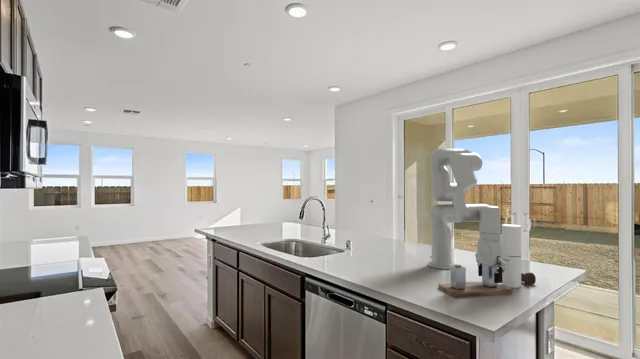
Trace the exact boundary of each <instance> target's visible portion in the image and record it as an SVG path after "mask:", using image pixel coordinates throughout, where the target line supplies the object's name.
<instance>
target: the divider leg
mask: <svg viewBox="0 0 640 359" xmlns="http://www.w3.org/2000/svg"><path fill="white" fill-rule="evenodd" d="M497 269H498V267H497ZM494 273H496V272H495V270H494V268H493V267H489V266H486V265H484V264H482V276H481V282H482V284H484V285H486V286H488V287H492V286H498V284H499V283H494Z"/></svg>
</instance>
